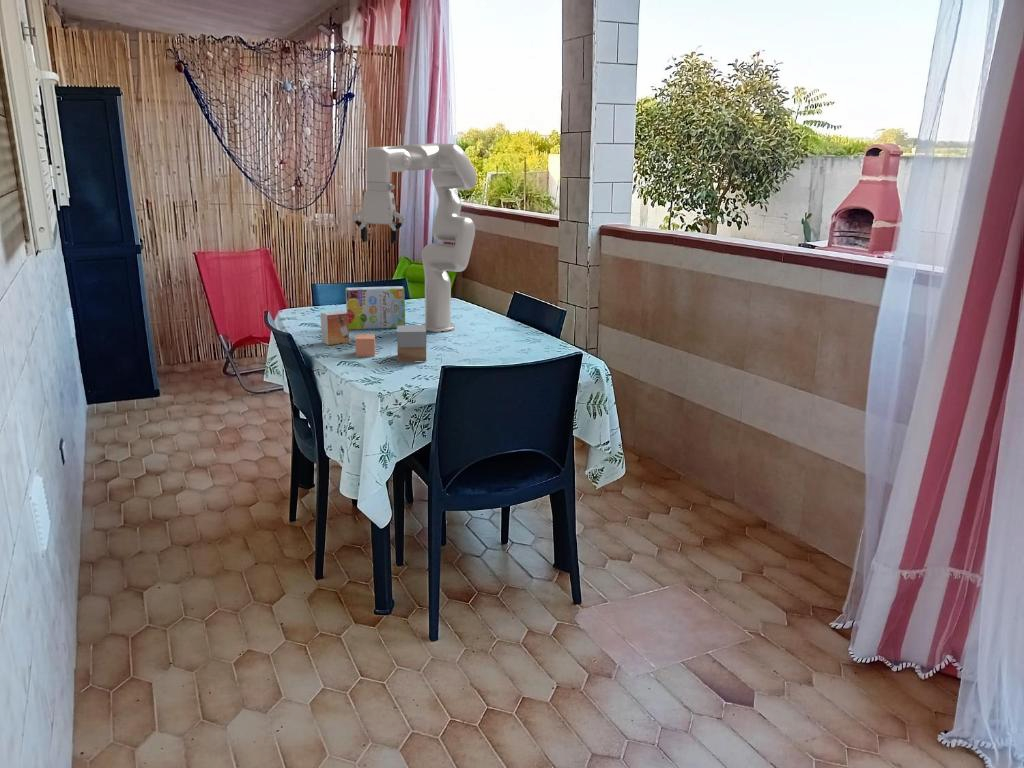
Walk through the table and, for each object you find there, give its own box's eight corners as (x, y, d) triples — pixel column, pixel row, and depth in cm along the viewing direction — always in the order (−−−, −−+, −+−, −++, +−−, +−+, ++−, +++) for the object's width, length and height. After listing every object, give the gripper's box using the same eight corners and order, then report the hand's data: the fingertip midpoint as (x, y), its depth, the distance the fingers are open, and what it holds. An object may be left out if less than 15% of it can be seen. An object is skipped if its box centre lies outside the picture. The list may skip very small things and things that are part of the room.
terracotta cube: (357, 352, 255) (356, 334, 254) (375, 351, 256) (374, 334, 254) (355, 356, 250) (355, 338, 248) (374, 356, 251) (374, 338, 249)
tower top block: (397, 340, 252) (397, 325, 250) (425, 340, 253) (425, 325, 251) (397, 347, 243) (397, 331, 242) (426, 347, 244) (426, 331, 243)
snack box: (403, 324, 295) (403, 285, 291) (405, 328, 290) (404, 288, 286) (347, 326, 290) (345, 286, 286) (347, 330, 285) (346, 289, 281)
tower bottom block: (398, 355, 253) (397, 340, 252) (425, 355, 254) (425, 340, 253) (397, 362, 244) (397, 347, 243) (426, 362, 246) (426, 347, 244)
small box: (328, 345, 262) (326, 315, 259) (321, 342, 267) (319, 312, 263) (349, 342, 267) (348, 312, 264) (343, 339, 271) (341, 309, 268)
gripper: (408, 188, 248) (408, 242, 252) (356, 186, 250) (357, 240, 255) (401, 189, 240) (401, 244, 245) (348, 187, 243) (349, 242, 247)
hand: (379, 242), depth 250 cm, fingers open, 9 cm apart
